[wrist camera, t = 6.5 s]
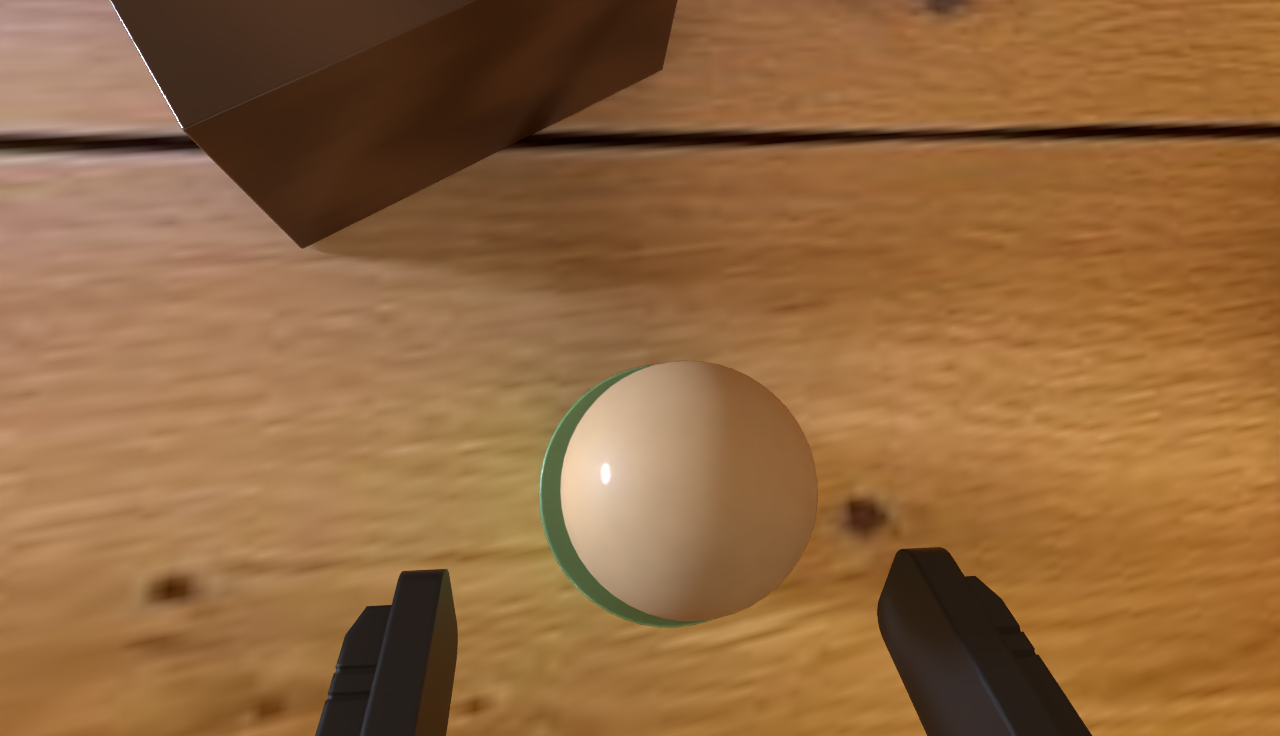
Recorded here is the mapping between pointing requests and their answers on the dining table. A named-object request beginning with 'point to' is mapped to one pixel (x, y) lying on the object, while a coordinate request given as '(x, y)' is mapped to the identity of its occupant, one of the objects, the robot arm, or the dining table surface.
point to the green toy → (678, 493)
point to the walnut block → (380, 87)
